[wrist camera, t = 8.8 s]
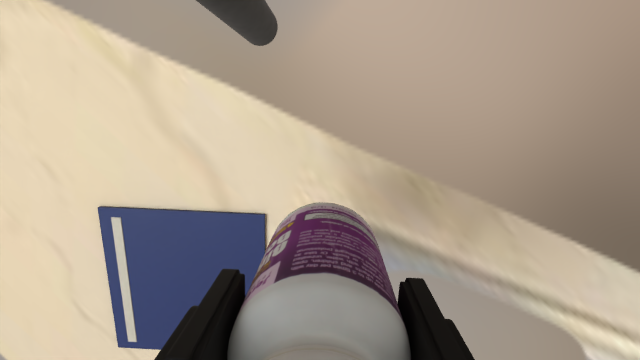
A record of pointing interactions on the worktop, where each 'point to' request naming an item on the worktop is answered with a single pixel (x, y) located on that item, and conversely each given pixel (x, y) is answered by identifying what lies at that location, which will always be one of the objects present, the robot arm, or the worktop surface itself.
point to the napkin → (171, 264)
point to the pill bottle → (320, 294)
